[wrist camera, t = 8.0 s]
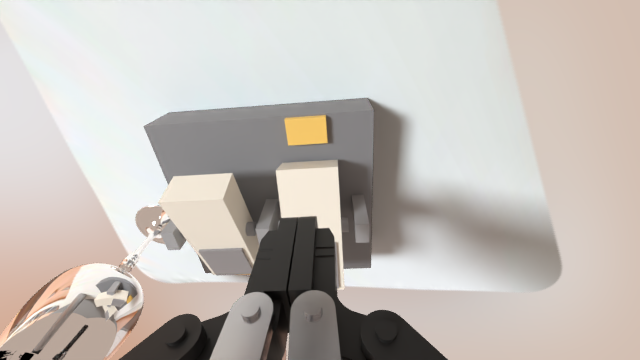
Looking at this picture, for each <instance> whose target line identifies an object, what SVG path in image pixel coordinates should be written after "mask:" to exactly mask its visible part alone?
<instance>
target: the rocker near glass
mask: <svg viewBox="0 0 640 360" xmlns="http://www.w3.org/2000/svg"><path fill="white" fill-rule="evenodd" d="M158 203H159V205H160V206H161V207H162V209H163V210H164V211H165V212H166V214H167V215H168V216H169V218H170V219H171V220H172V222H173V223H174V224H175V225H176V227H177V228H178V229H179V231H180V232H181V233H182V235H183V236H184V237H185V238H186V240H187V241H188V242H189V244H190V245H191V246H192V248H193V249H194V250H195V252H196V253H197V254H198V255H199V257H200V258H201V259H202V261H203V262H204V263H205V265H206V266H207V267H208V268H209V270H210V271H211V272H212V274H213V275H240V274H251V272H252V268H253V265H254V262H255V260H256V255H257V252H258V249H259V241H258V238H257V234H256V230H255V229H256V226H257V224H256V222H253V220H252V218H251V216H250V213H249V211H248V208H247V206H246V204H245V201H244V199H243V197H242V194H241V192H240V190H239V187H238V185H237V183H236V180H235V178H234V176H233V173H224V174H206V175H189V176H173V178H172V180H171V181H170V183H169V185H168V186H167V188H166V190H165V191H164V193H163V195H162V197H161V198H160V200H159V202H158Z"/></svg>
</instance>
